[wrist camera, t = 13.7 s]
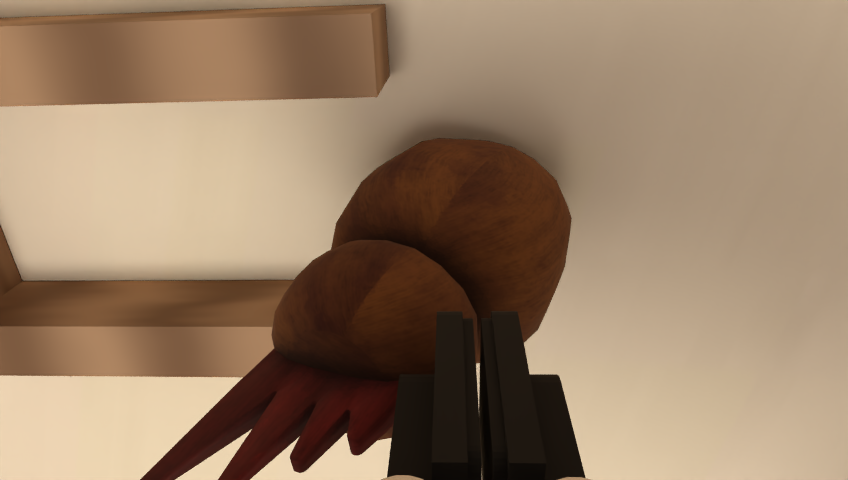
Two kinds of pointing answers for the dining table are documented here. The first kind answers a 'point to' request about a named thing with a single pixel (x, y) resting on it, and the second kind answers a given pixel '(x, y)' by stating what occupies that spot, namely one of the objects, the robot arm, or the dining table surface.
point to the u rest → (168, 82)
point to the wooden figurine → (390, 301)
